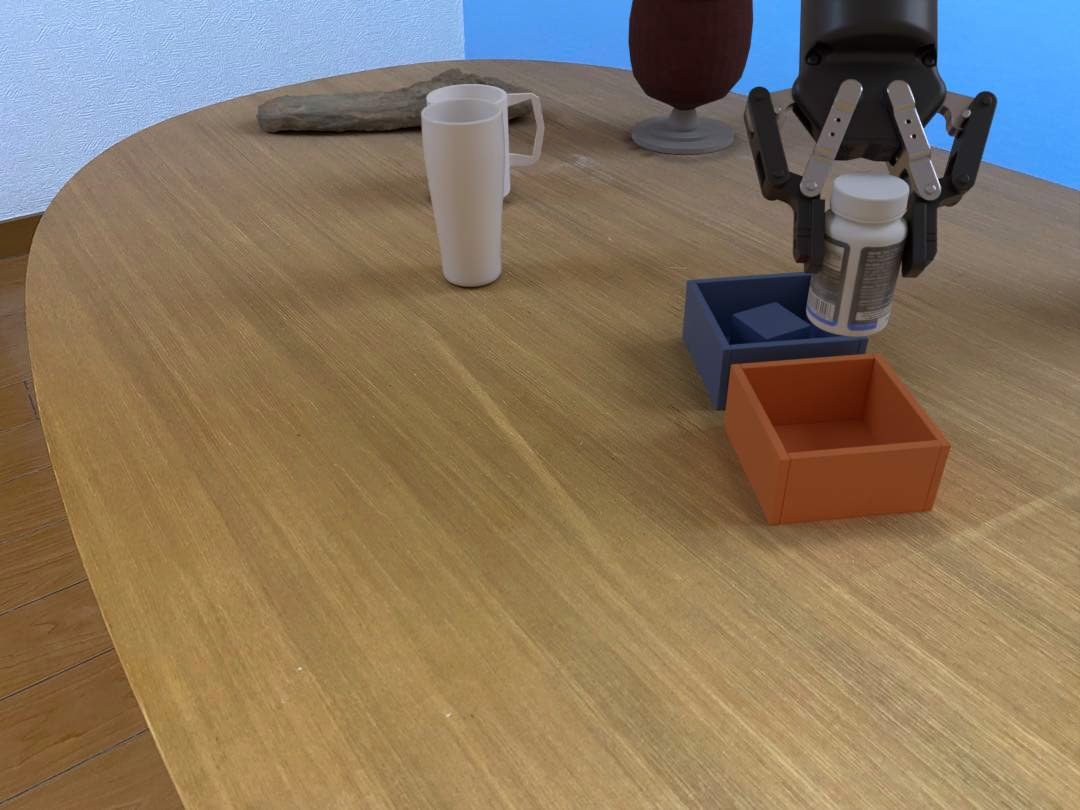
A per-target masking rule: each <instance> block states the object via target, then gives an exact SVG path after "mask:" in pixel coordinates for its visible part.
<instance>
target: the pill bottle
mask: <svg viewBox="0 0 1080 810" xmlns="http://www.w3.org/2000/svg"><path fill="white" fill-rule="evenodd" d="M831 187H832V188H831V192H830V197H829V208H828V209H827V210H825V228H824V260H823V265H822V267H821V269H820V270H819V272H818V273H817V274H811V281H810V288H809V295H808V300H807V307H806V313H807V316H808V318H809V320H810V321H811V322H812V323H813V324H814V325H815V326H817V327H819V328H820V329H822V330H824V331H827V332H830V333H833V334H838V335H844V336H853V337H861V336H867V337H868V336H872V335H875V334H878V333H879V332H881V331H882V330H883V329H885V328H886V326H887V324H888V322H889V319H890V315H891V311H892V305H893V302H894V296H895V293H896V287H897V284H898V278H899V274H900V269H901V262H902V256H903V251H904V247H905V243H906V238H907V234H908V225H907V222H906V220H905V219H904V217H903V215H904V214H905V212H906V207H907V201H908V195H909V186H908V184H907V183H906V182H905V181H903V180H902V179H900V178H898V177H896V176H893V175H890V174H889V173H885V172H880V171H870V170H863V171H862V170H859V171H850V172H846V173H843V174H841V175H839V176H837V177H836V178H835V179H834V180H833V183H832V186H831Z"/></svg>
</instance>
